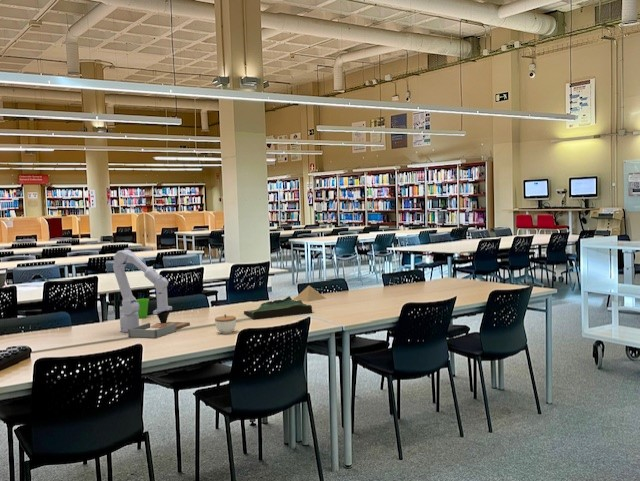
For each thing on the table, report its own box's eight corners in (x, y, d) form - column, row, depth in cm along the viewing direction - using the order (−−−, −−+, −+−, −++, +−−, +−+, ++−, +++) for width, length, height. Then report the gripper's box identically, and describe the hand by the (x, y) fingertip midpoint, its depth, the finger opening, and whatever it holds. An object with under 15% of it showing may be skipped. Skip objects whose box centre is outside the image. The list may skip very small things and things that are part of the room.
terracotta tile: (151, 330, 319) (150, 326, 319) (158, 327, 325) (157, 322, 324) (161, 331, 317) (160, 326, 316) (167, 327, 322) (167, 323, 322)
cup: (131, 319, 362) (130, 301, 362) (139, 316, 371) (138, 298, 371) (145, 319, 360) (144, 300, 360) (152, 316, 369) (151, 298, 368)
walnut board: (151, 330, 325) (151, 327, 325) (168, 324, 340) (168, 321, 340) (173, 331, 320) (173, 328, 320) (189, 325, 335) (189, 322, 335)
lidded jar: (237, 329, 317) (236, 312, 316) (235, 334, 306) (234, 315, 305) (217, 330, 316) (216, 313, 316) (214, 335, 306) (213, 316, 305)
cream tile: (144, 334, 313) (143, 329, 313) (151, 332, 319) (150, 327, 319) (153, 334, 311) (153, 330, 311) (160, 332, 317) (160, 327, 317)
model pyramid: (310, 296, 424) (310, 282, 423) (326, 299, 410) (326, 284, 410) (292, 300, 413) (291, 285, 413) (307, 302, 400) (307, 287, 399)
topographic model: (299, 308, 377) (299, 292, 376) (312, 313, 357) (311, 297, 356) (243, 314, 363) (243, 298, 363) (253, 320, 343) (252, 303, 343)
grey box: (128, 337, 310) (128, 329, 310) (148, 330, 326) (148, 322, 326) (156, 338, 304) (155, 330, 304) (175, 331, 320) (175, 323, 320)
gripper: (160, 302, 315) (161, 328, 316) (176, 298, 329) (177, 322, 330) (149, 302, 318) (150, 327, 318) (165, 298, 331) (166, 322, 332)
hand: (163, 325), depth 324 cm, fingers closed
